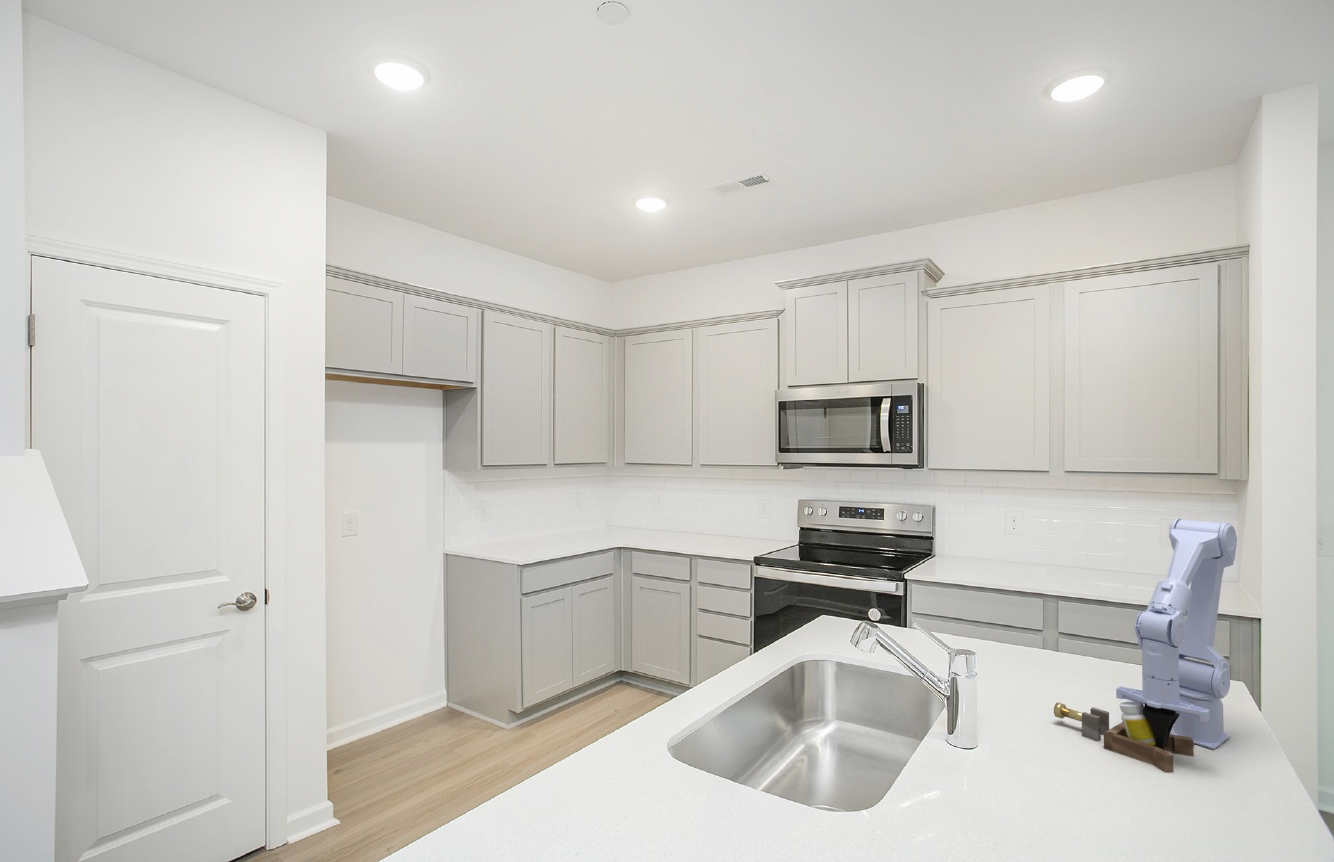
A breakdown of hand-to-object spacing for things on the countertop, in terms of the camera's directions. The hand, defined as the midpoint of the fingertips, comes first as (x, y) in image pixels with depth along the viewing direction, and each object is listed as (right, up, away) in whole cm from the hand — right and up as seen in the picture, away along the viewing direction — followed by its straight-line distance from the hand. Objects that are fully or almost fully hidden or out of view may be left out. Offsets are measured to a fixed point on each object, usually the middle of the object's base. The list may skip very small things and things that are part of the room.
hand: (1161, 746), depth 127 cm
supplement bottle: (-2, -2, +2) cm, 3 cm away
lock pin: (-9, -1, +13) cm, 15 cm away
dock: (-3, -2, +4) cm, 5 cm away
